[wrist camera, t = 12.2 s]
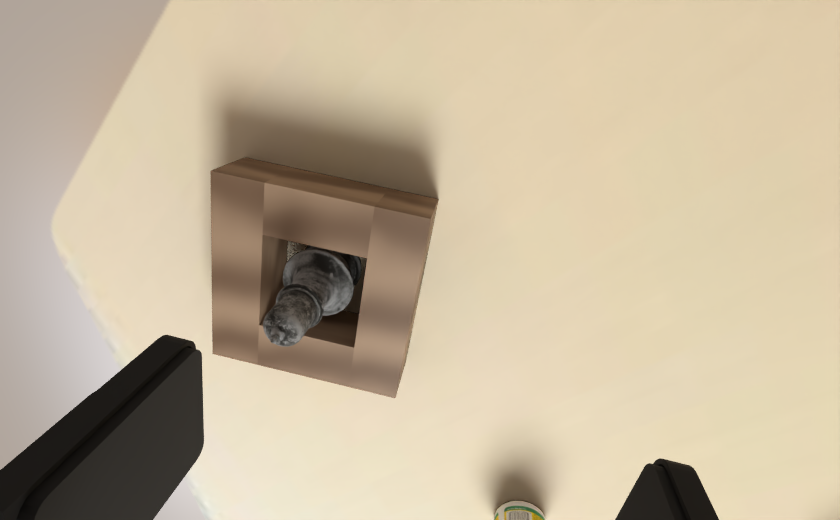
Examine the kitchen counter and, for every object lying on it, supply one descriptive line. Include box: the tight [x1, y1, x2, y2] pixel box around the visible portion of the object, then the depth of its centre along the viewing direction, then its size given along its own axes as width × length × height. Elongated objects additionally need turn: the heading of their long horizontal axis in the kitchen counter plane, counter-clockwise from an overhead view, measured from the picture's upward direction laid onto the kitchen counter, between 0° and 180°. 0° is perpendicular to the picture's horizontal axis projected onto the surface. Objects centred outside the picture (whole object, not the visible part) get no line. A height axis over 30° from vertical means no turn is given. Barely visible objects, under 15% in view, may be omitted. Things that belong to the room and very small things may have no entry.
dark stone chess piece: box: [263, 245, 362, 347], centre depth 35 cm, size 6×6×12 cm
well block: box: [211, 158, 439, 398], centre depth 38 cm, size 16×16×5 cm
